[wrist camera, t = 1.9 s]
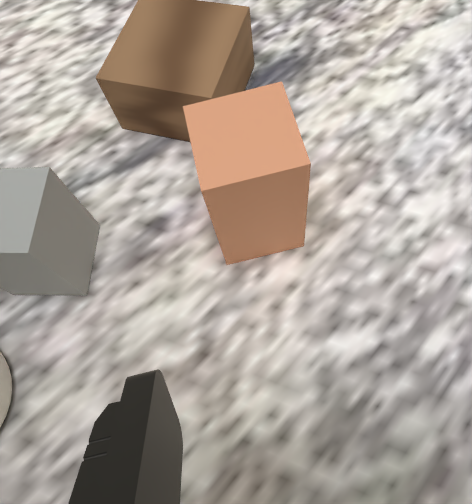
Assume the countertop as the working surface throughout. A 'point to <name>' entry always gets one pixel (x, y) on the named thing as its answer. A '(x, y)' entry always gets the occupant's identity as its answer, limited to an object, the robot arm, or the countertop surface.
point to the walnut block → (175, 62)
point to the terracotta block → (251, 171)
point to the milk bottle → (4, 388)
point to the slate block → (44, 235)
